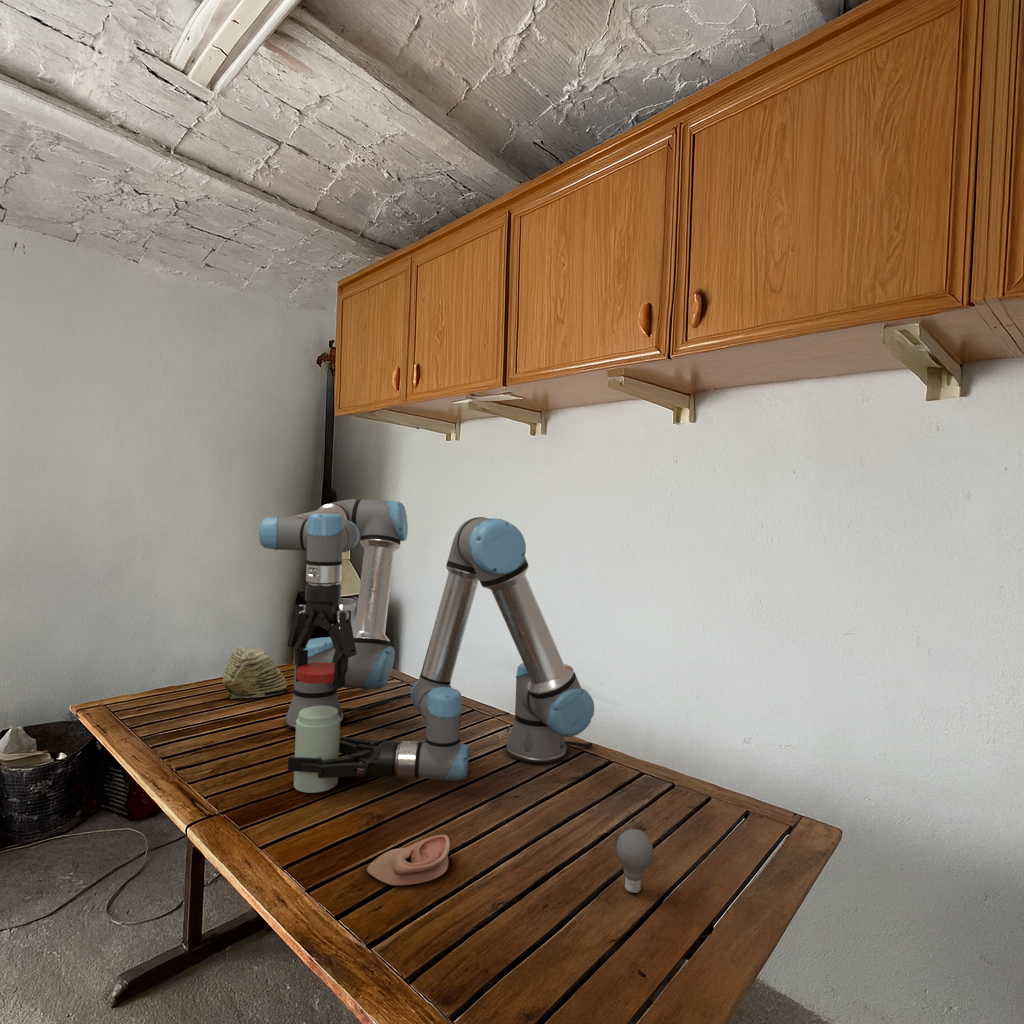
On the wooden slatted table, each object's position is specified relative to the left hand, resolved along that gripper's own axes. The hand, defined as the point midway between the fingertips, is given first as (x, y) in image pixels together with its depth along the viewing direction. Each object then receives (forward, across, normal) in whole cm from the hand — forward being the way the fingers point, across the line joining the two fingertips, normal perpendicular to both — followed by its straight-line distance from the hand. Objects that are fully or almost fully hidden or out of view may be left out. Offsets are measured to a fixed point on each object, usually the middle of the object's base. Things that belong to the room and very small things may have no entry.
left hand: (320, 683), depth 140 cm
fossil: (+23, -57, +38) cm, 72 cm away
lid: (-3, 0, 0) cm, 3 cm away
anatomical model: (+22, +36, -18) cm, 46 cm away
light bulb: (+22, +72, -6) cm, 76 cm away
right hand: (+16, -4, -2) cm, 16 cm away
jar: (+22, 0, 0) cm, 22 cm away
